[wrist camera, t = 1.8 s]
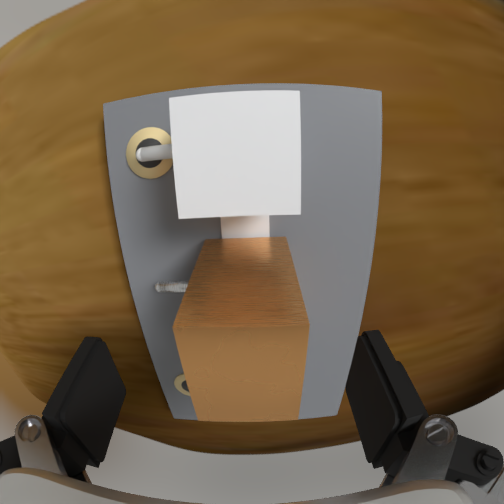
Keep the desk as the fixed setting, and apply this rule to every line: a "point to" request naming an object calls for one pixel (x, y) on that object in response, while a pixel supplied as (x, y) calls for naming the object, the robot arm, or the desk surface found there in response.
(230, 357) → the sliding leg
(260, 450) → the desk surface
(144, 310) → the slide rail plate
